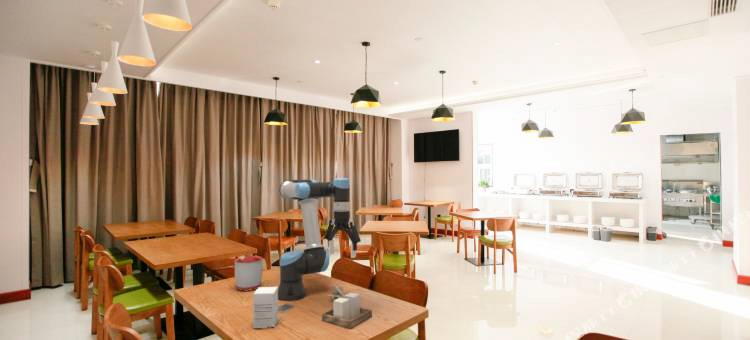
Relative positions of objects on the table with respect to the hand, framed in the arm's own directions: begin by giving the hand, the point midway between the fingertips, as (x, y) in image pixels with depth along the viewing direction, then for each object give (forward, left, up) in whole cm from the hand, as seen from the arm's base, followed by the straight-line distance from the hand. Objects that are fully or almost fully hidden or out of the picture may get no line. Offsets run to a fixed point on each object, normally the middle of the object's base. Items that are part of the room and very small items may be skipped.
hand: (342, 255), depth 165 cm
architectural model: (-12, +11, -27) cm, 32 cm away
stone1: (+6, -8, -26) cm, 28 cm away
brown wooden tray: (+6, -4, -27) cm, 28 cm away
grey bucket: (-70, -1, -27) cm, 75 cm away
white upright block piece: (+6, 0, -26) cm, 27 cm away
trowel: (-27, -15, -27) cm, 41 cm away
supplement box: (-20, -28, -27) cm, 44 cm away
